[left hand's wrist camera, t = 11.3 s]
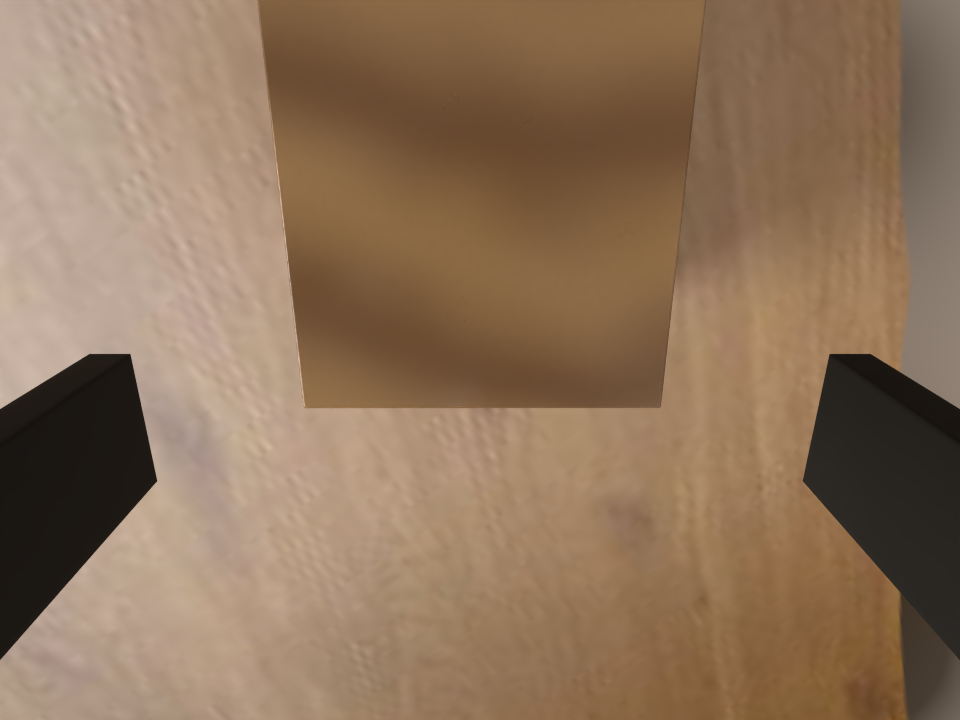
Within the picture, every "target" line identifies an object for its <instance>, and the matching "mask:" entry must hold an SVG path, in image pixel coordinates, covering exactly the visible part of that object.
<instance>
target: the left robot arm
mask: <svg viewBox="0 0 960 720" xmlns="http://www.w3.org/2000/svg"><path fill="white" fill-rule="evenodd" d="M156 482H157V478H156V473H155V468H154V464H153V459H152V454H151V449H150V445H149V440H148V435H147V431H146V426H145V421H144V416H143V412H142V407H141V402H140V397H139V393H138V388H137V383H136V379H135V374H134V369H133V364H132V360H131V355H130V354H89V355H87V356H86V357H84V358H82V359H81V360H79V361H77V362H76V363H74V364H73V365H71V366H69V367H68V368H66V369H64V370H63V371H61V372H60V373H58V374H56V375H55V376H53V377H52V378H50V379H48V380H47V381H45V382H43V383H42V384H40V385H39V386H37V387H35V388H34V389H32V390H30V391H29V392H27V393H26V394H24V395H22V396H21V397H19V398H17V399H16V400H14V401H13V402H11V403H9V404H8V405H6V406H5V407H3V408H1V409H0V660H1V658H2V657H3V656H4V655H5V654H6V653H7V652H8V650H9V649H10V648H11V647H12V646H13V645H14V644H15V642H16V641H17V640H18V639H19V638H20V637H21V636H22V634H23V633H24V632H25V631H26V630H27V629H28V628H29V626H30V625H31V624H32V623H33V622H34V621H35V620H36V619H37V617H38V616H39V615H40V614H41V613H42V612H43V611H44V609H45V608H46V607H47V606H48V605H49V604H50V603H51V601H52V600H53V599H54V598H55V597H56V596H57V595H58V593H59V592H60V591H61V590H62V589H63V588H64V587H65V585H66V584H67V583H68V582H69V581H70V580H71V579H72V577H73V576H74V575H75V574H76V573H77V572H78V571H79V570H80V568H81V567H82V566H83V565H84V564H85V563H86V562H87V560H88V559H89V558H90V557H91V556H92V555H93V554H94V552H95V551H96V550H97V549H98V548H99V547H100V546H101V544H102V543H103V542H104V541H105V540H106V539H107V538H108V536H109V535H110V534H111V533H112V532H113V531H114V530H115V528H116V527H117V526H118V525H119V524H120V523H121V522H122V521H123V519H124V518H125V517H126V516H127V515H128V514H129V513H130V511H131V510H132V509H133V508H134V507H135V506H136V505H137V503H138V502H139V501H140V500H141V499H142V498H143V497H144V495H145V494H146V493H147V492H148V491H149V490H150V489H151V487H152V486H153V485H154V484H155V483H156ZM803 482H804V483H805V484H806V485H807V486H808V487H809V489H810V490H811V491H812V492H813V493H814V494H815V495H816V497H817V498H818V499H819V500H820V501H821V502H822V503H823V505H824V506H825V507H826V508H827V509H828V510H829V511H830V513H831V514H832V515H833V516H834V517H835V518H836V519H837V521H838V522H839V523H840V524H841V525H842V526H843V527H844V528H845V530H846V531H847V532H848V533H849V534H850V535H851V536H852V538H853V539H854V540H855V541H856V542H857V543H858V544H859V546H860V547H861V548H862V549H863V550H864V551H865V552H866V554H867V555H868V556H869V557H870V558H871V559H872V560H873V562H874V563H875V564H876V565H877V566H878V567H879V568H880V570H881V571H882V572H883V573H884V574H885V575H886V576H887V577H888V579H889V580H890V581H891V582H892V583H893V584H894V585H895V587H896V588H897V589H898V590H899V591H900V592H901V593H902V595H903V596H904V597H905V598H906V599H907V600H908V601H909V603H910V604H911V605H912V606H913V607H914V608H915V609H916V610H917V612H918V613H919V614H920V615H921V616H922V617H923V619H924V620H925V621H926V622H927V623H928V624H929V625H930V626H931V628H932V629H933V630H934V631H935V632H936V633H937V634H938V636H939V637H940V638H941V639H942V640H943V641H944V642H945V644H946V645H947V646H948V647H949V648H950V649H951V650H952V652H953V653H954V654H955V655H956V656H957V657H958V658H959V660H960V409H959V408H957V407H955V406H954V405H952V404H951V403H949V402H947V401H946V400H944V399H942V398H941V397H939V396H938V395H936V394H934V393H933V392H931V391H930V390H928V389H926V388H925V387H923V386H921V385H920V384H918V383H917V382H915V381H913V380H912V379H910V378H908V377H907V376H905V375H904V374H902V373H900V372H899V371H897V370H896V369H894V368H892V367H891V366H889V365H887V364H886V363H884V362H883V361H881V360H879V359H878V358H876V357H874V356H873V355H871V354H830V355H829V360H828V364H827V369H826V374H825V379H824V383H823V388H822V393H821V397H820V402H819V407H818V412H817V416H816V421H815V426H814V431H813V435H812V440H811V445H810V449H809V454H808V459H807V464H806V468H805V473H804V478H803Z"/></svg>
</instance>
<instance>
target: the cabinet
mask: <svg viewBox="0 0 960 720" xmlns="http://www.w3.org/2000/svg"><path fill="white" fill-rule="evenodd" d="M257 2H258V11H259V20H260V28H261V37H262V46H263V55H264V63H265V72H266V81H267V89H268V98H269V107H270V116H271V124H272V133H273V142H274V151H275V159H276V168H277V177H278V186H279V194H280V203H281V212H282V221H283V229H284V238H285V247H286V256H287V264H288V273H289V282H290V291H291V299H292V308H293V317H294V326H295V334H296V343H297V352H298V361H299V369H300V378H301V387H302V396H303V404H304V408H660V407H661V399H662V391H663V382H664V373H665V364H666V355H667V346H668V337H669V328H670V319H671V310H672V301H673V292H674V283H675V274H676V265H677V256H678V247H679V238H680V229H681V220H682V211H683V202H684V193H685V184H686V175H687V166H688V157H689V148H690V139H691V130H692V121H693V112H694V103H695V94H696V85H697V77H698V68H699V59H700V50H701V41H702V32H703V23H704V14H705V5H706V0H257Z"/></svg>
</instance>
